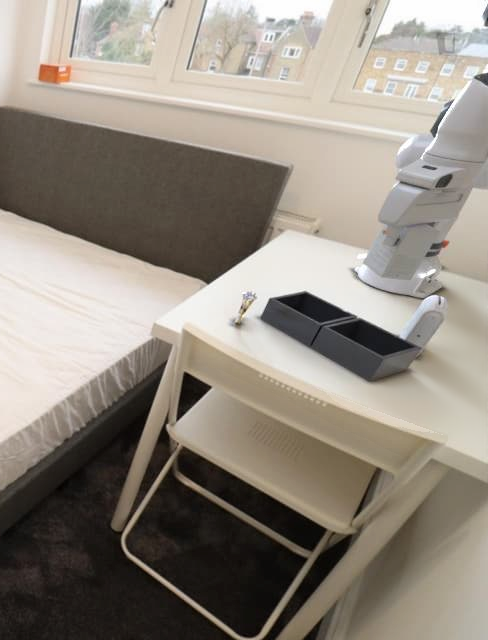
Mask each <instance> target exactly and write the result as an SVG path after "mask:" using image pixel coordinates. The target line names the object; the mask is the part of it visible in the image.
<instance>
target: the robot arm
mask: <svg viewBox="0 0 488 640" xmlns="http://www.w3.org/2000/svg"><path fill="white" fill-rule="evenodd" d="M480 15H481V17H480V22H481V24H482V26H484V27H485V28H488V0H484V1H483V4H482V7H481V14H480ZM395 167H396V169H397V174H396V176H395V181H398V182H396V183H395V184H394V185H393V186H392V187H391V189H390V191H389V192H388V194H387V196H386V197H385V199H384V201H383V204H382V206H381V208H380V209H379V211H378V215H377V221H378V223H380V224H382V225H384V224H386V225H388V226H387V232H386V237H385V239H384V241H383V245H385V246H388V247H391V246H395V245H396V244H397V242H398V241H399V239H400V238H398V237H399V234H400V231H402V230H403V229H404V227H405V226H407V225H415V224H423V223H426V224H428V225H430V226H431V227H433V228H435V229H437V230H439V231H440V233H439V234H438V236H437V238H436V239H435V241H434V243H433V244H432V246H431V247H430V249H429V251H428V252H427V254H426V256H425V257H424V259H423V260H422V262H421V264H420V265H419V267H418V269H417V270H416V272H415V273H414V275H413V277H412V278H411V280H400V279H392V278H382V277H380V276H379V275H377V274H376V273H375V272H374V271H372V270H371V269H370V268H369V267H367V266H366V265H365V264H364V263H362V265H361V266H356V267H355V268H354V272H356V273H357V277H358V278H359V279H360V281H362V282H363V283H365V284H366V285H370V286H371V287H374V288H376V289H379V290H382V291H385V292H389V293H394V294H398V295H406V296H411V297H414V298H419V299H426V298H427V297H429V296H431V295H432V294H434V293H436V292H437V291H438V290H440V289H442V288H443V286H444V283H443V282H441V281H439V280H437V277H438V276H439V274H440V273H441V271H442V269H443V264H442V262H441V261H440V258H439V256H438V255H440V254H441V250H443V249H445V248H447V247H448V245H449V244H450V240H447V239H445V238H446V237H447V235H448V234H449V233H450V231H451V229H452V228H453V226H454V225H455V223H456V222H457V220H458V218H459V216H460V213H461V211H462V210H463V208H464V206H465V204H466V203H467V200H468V199H469V197H470V195H471V193H472V190H473V189H476V190H482V191H483V190H484V191H488V62H487V64H486V65H485V67H484V69H483V71H482V72H481V73H479V74H476V75H474V76H472V77H471V78H470V79H469V80H468V82H466V84H465V85H464V87H463V89H462V90H460V92H459V94H458V95H457V97H455V98H454V99H451V100H449V101H447V102H446V103H445V104H444V105H443V106H442V109H441V111H440V113H439V114H438V116H437V118H436V120H435V121H434V123H433V125H432V127H431V128H430V129H429V132H425V133H418V134H416V135H414V136H412V137H411V138H409V139H408V140H406V141H405V143H403V145H402V146H401V147H400V148H399V150H398V151H397V153H396V157H395ZM367 254H368V253H363V254H358V255H357V259H363V258H364V259H365V257H366V256H367Z"/></svg>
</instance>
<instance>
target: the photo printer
mask: <svg viewBox="0 0 488 640" xmlns="http://www.w3.org/2000/svg"><path fill="white" fill-rule="evenodd" d="M448 313H449V303H448V300H447V299H446V298H445V297H444V296H440V295H438V294H433V295H432V294H431V295H428V296H427V297H425V298H423V301H421V303H420V305H419V306H418V308H417V309H416V311H415V312H414V313H413V315H412V316H411V318H410V320H409V321H408V322H407V324H406V326H405V327H404V328H403V329H402V331H401V333H400V334H399V337H401V338H403V339H405V340H407V341H409V342H411V343H413V344H415V345H417V346H419V347H421V348H422V349H421V351H420V352H419V353H418V355H417V356H416V358H417V357H418V356H420V354H421V353H422V352H423V351H424V349H425V348H426V346H427V345H428V344H429V342H430V341H431V340H432V339H433V337H434V335H435V334H436V333H437V331H438V330H439V328H440V327H441V326H442V324H443V323H444V322H445V320H446V318H447V315H448Z"/></svg>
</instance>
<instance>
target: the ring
mask: <svg viewBox="0 0 488 640" xmlns="http://www.w3.org/2000/svg"><path fill="white" fill-rule="evenodd" d="M257 299H258V295H257V293H256V292H254V293H253V291H252V290H250V291H247V292H242V301H241V305H240V308H239V310H238V312H237V314H236V317H235V321H234V323H236V324H240V323H241V322H242V320H243V318H244V316H245V315H246V313H247V311H248V309H249V308H250V306H251V305H252V304H253V303H254V301H256V300H257Z"/></svg>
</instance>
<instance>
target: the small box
mask: <svg viewBox="0 0 488 640" xmlns="http://www.w3.org/2000/svg"><path fill="white" fill-rule="evenodd" d="M387 226H388V225H386V224H382V227H381V228H380V230H379V231H378V234H377V235H376V237H375V239H374V241H373V242H372V245H371V246H370V248H369V249H368V252H367V253H366V254H367V256H366V257H365V258H364V259H363V261H362V264H365V265H366V266H367V267H369V268H370V269H371V270H372V271H374V272H375V273H376V274H377V275H379V276H380V277H382V278H392V279H400V280H411V278H412V277H413V275H414V273H415V272H416V270H417V269H418V267H419V265H420V264H421V262H422V260H423V259H424V257H425V256H426V254H427V252H428V251H429V249H430V247H431V246H432V244H433V243H434V241H435V239H436V238H437V236H438V234H439V233H440V231H439V230H437V229H435V228H433V227H431V226H430V225H428V224H426V223H423V224H415V225H407V226H405V227H404V229H403V230H402V231H400V234H399V237H398V238H400V239H399V241H398V242H397V244H396V245H395V246H391V247H388V246H385V245H383V241H384V239H385V237H386V232H387Z"/></svg>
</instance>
